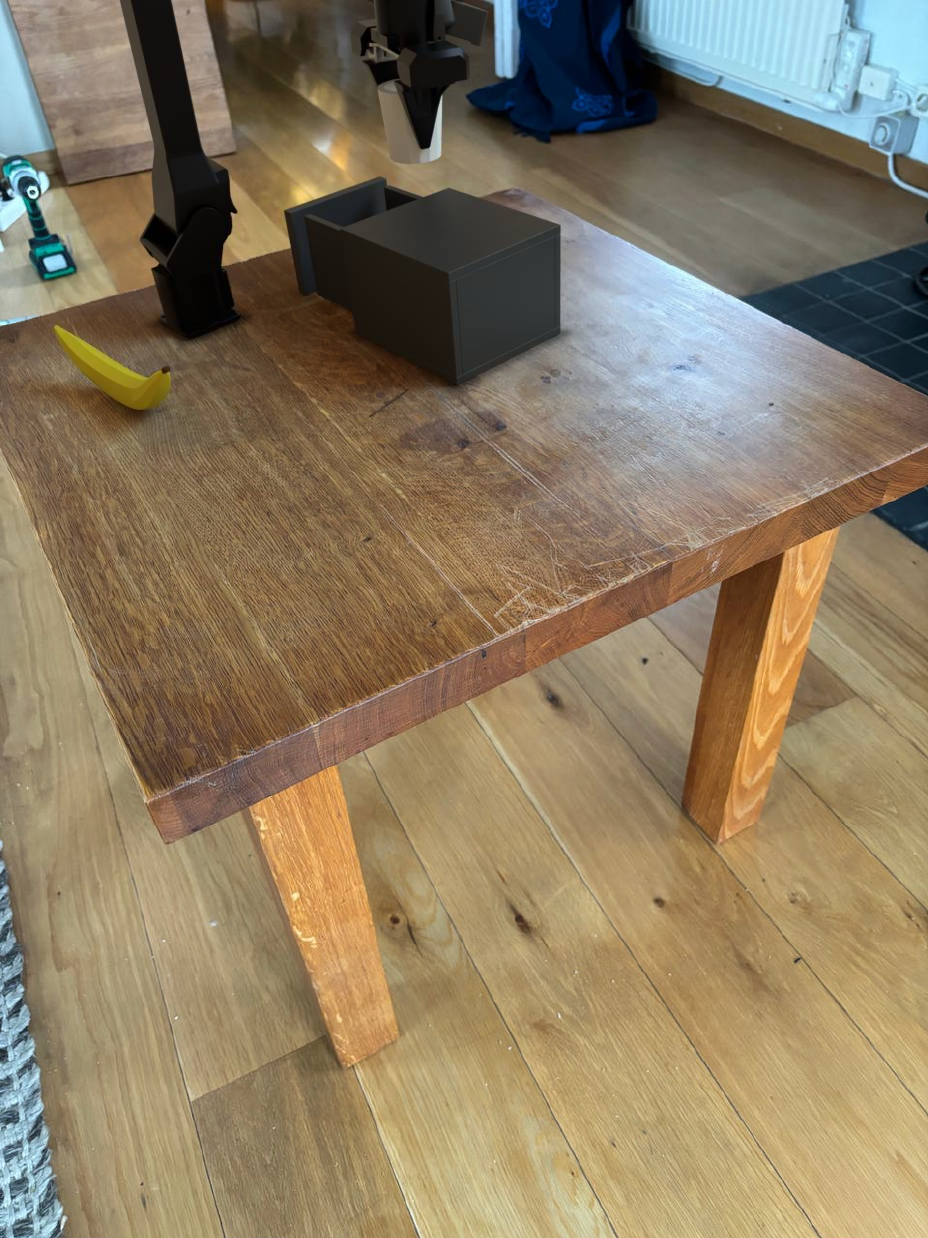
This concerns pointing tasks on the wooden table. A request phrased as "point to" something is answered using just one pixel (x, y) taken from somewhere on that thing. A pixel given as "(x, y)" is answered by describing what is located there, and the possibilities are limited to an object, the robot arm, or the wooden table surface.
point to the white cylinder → (405, 129)
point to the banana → (115, 374)
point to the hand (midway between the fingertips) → (414, 140)
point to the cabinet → (454, 282)
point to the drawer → (334, 234)
